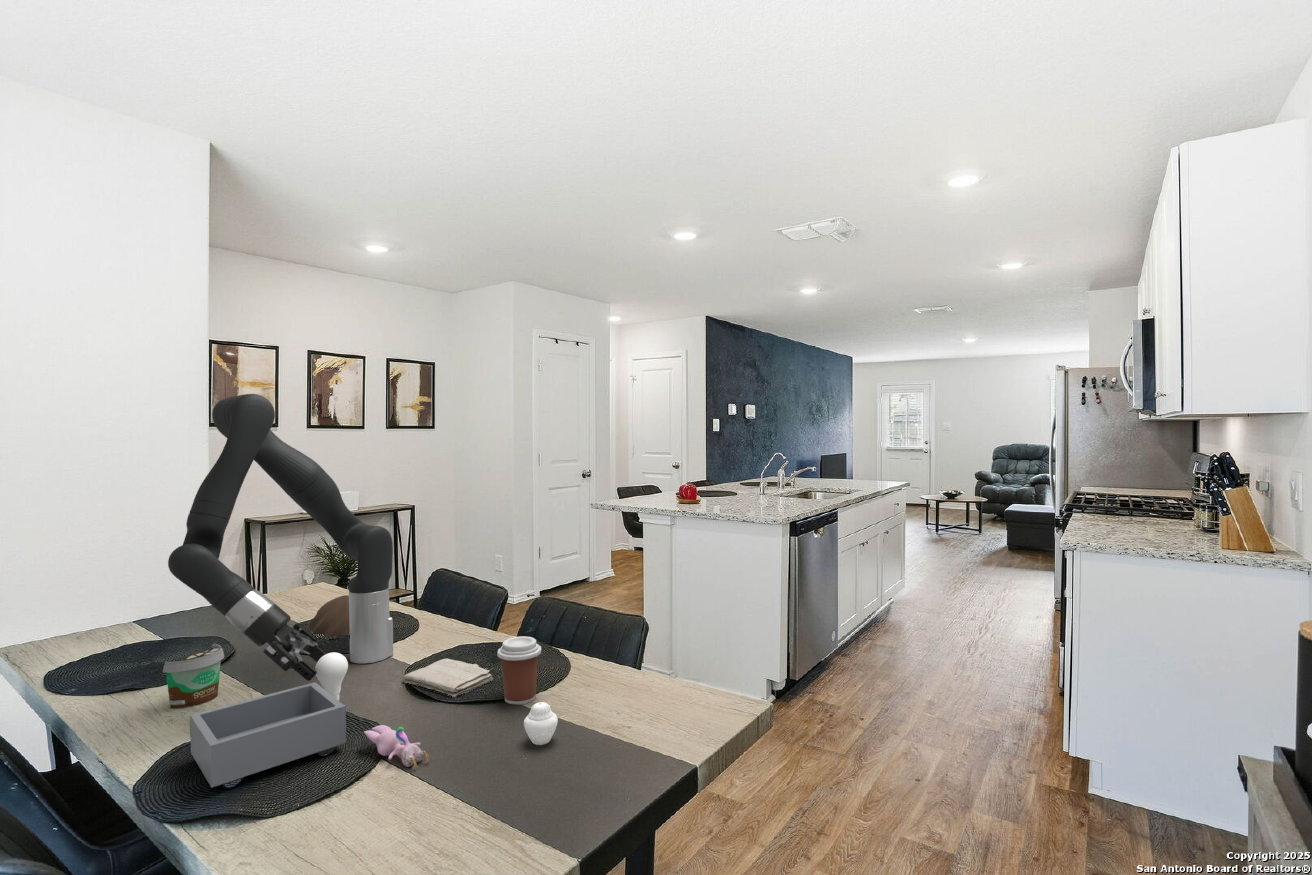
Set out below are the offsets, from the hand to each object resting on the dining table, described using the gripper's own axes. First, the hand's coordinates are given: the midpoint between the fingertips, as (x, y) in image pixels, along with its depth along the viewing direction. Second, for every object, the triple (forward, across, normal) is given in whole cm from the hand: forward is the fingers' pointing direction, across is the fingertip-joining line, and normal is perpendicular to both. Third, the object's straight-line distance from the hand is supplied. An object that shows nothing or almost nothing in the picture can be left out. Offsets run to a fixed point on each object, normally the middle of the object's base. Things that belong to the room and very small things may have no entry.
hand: (320, 669), depth 133 cm
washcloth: (+23, +9, -11) cm, 27 cm away
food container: (-13, +10, +24) cm, 29 cm away
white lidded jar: (+37, -25, -26) cm, 51 cm away
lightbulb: (+7, 0, +4) cm, 8 cm away
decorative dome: (-1, +57, +13) cm, 58 cm away
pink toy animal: (+19, -24, -8) cm, 32 cm away
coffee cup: (+34, -4, -23) cm, 41 cm away
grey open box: (+4, -20, +7) cm, 22 cm away
